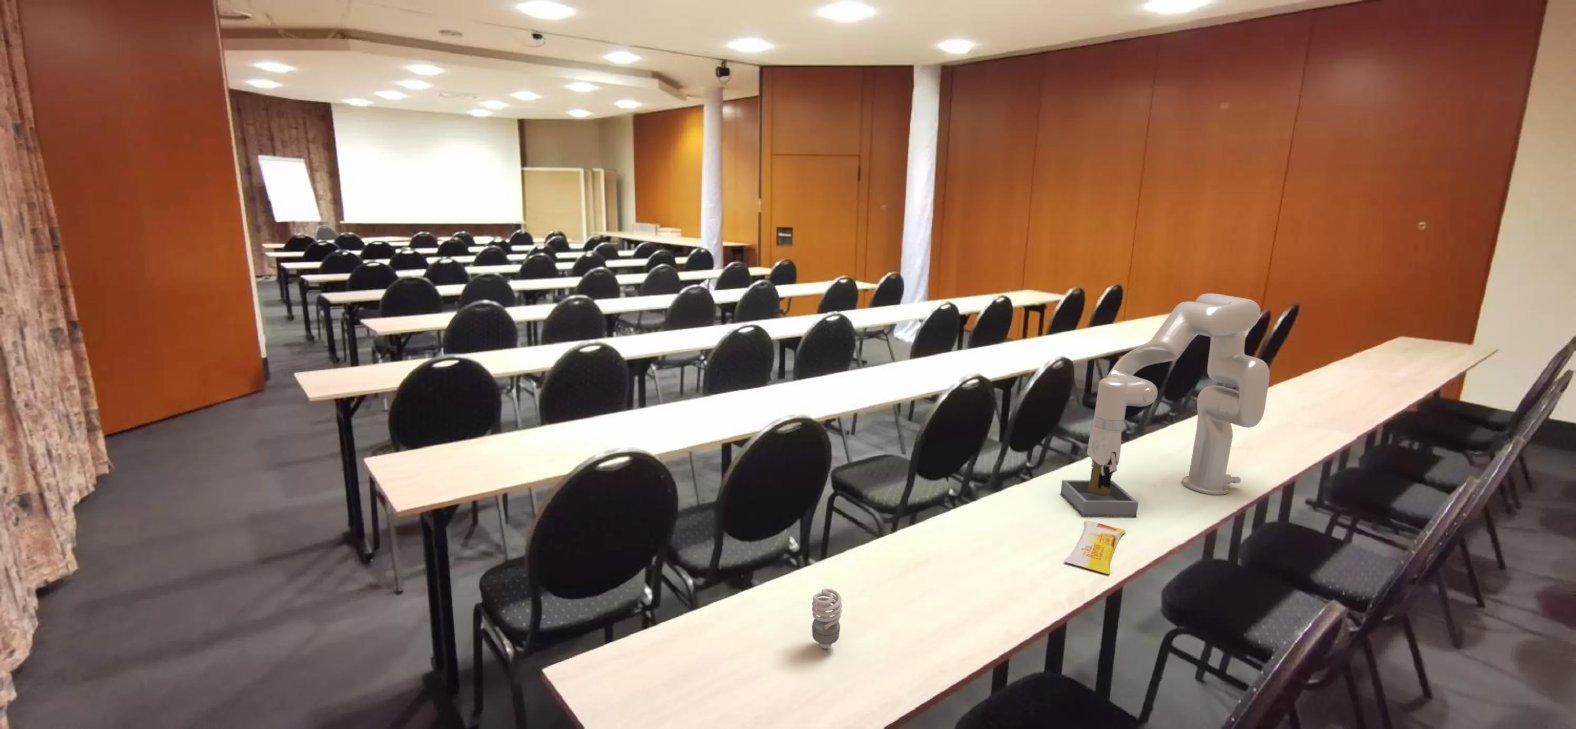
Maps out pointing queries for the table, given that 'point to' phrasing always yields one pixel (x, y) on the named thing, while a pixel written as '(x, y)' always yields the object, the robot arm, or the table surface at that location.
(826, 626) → the light bulb
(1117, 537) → the food package
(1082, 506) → the tote
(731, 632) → the table surface
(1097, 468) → the cork
